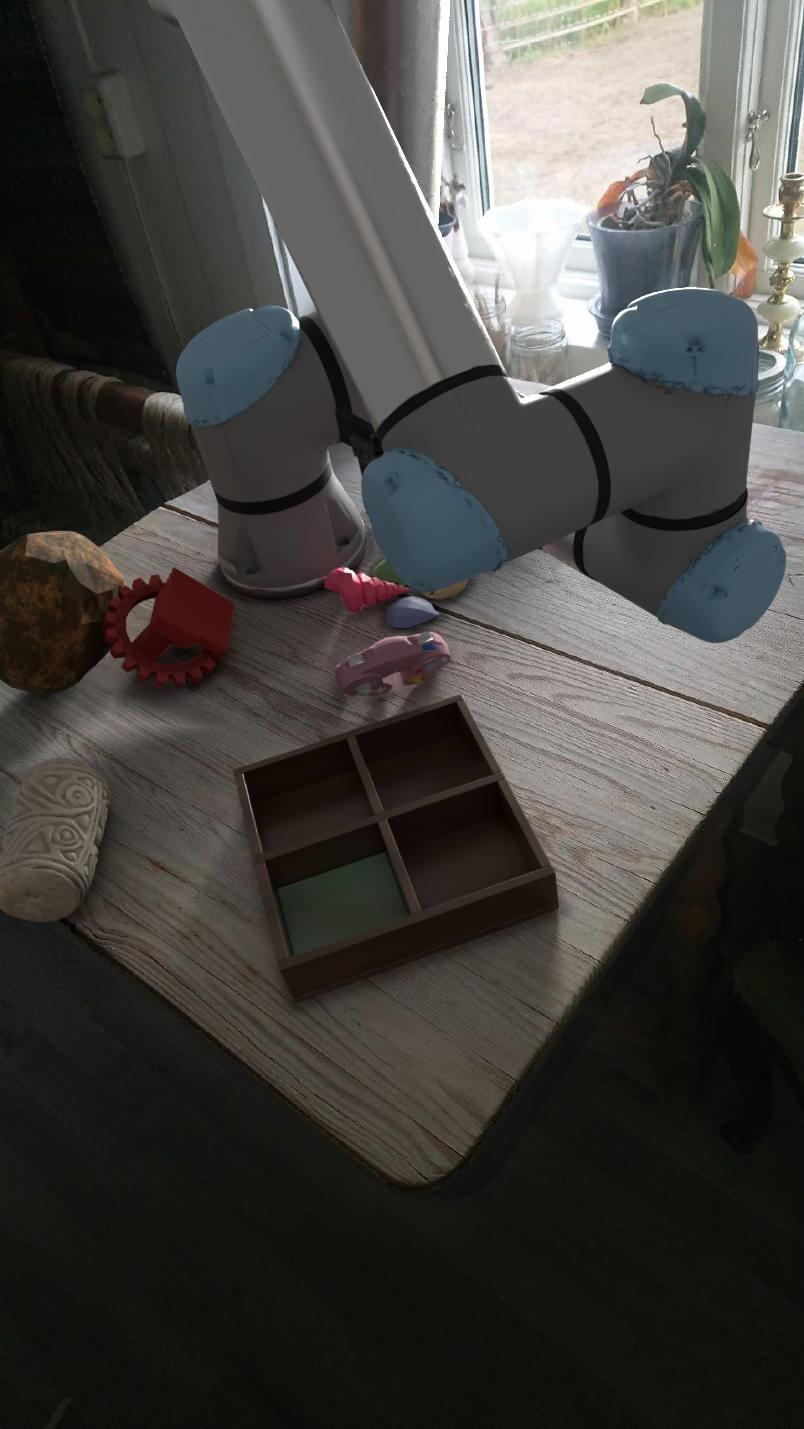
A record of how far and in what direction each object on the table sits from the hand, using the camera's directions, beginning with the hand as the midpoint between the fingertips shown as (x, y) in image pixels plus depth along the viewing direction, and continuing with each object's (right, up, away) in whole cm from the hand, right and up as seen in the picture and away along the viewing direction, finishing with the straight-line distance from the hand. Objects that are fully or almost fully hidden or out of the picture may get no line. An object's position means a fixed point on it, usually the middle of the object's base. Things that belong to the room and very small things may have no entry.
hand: (380, 405), depth 82 cm
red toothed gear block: (-17, -16, +5) cm, 24 cm away
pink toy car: (+1, -23, +2) cm, 24 cm away
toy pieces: (+2, -15, +11) cm, 18 cm away
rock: (-31, -10, +10) cm, 33 cm away
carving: (-25, -31, -4) cm, 40 cm away
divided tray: (+1, -36, -11) cm, 37 cm away
